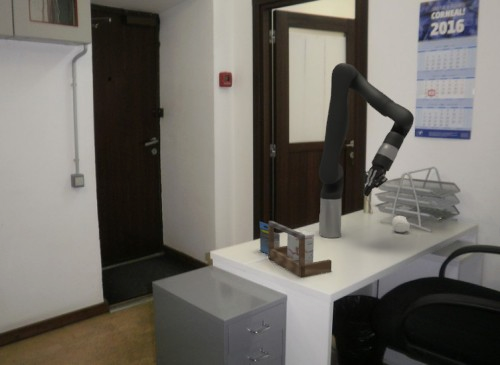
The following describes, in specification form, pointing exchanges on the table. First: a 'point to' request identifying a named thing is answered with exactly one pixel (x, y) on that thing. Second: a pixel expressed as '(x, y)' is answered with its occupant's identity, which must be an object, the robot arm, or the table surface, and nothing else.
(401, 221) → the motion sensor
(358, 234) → the table surface
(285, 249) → the frame
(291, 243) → the ink box
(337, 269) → the table surface
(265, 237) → the label tape cartridge
